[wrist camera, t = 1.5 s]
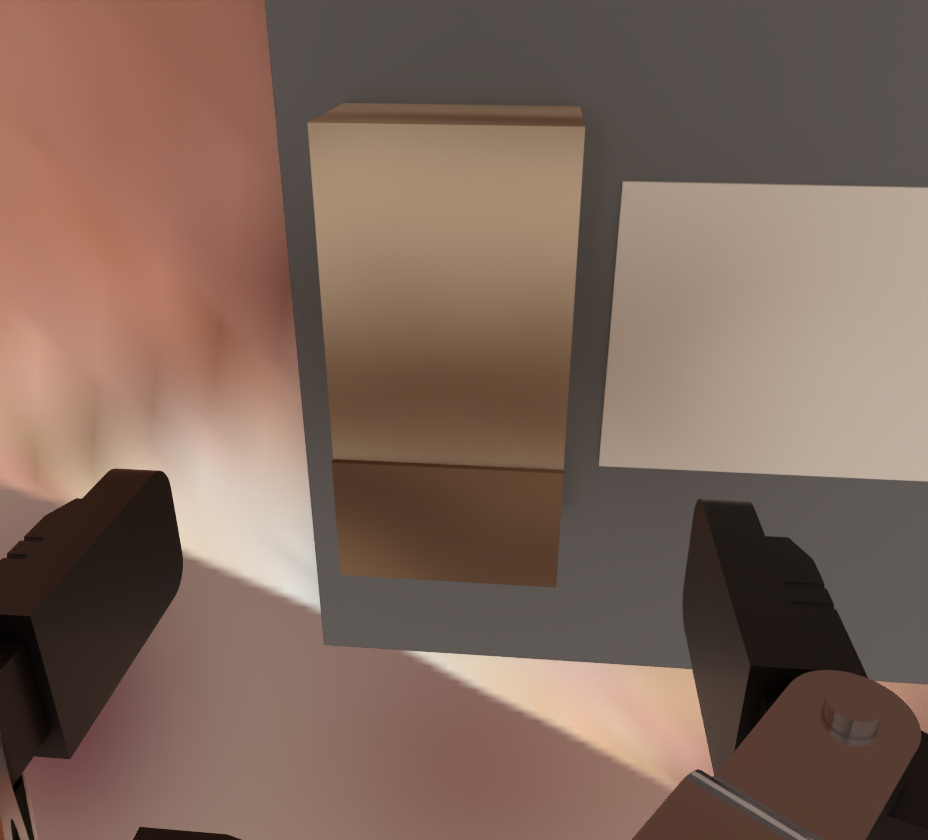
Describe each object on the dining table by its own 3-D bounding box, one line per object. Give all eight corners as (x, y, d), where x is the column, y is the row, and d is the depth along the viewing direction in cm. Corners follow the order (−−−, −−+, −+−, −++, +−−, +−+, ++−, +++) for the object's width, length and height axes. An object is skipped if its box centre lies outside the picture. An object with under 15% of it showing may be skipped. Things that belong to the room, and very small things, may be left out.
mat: (254, -178, 16) (246, -182, 16) (1383, -192, 15) (1408, -197, 14) (327, 635, 25) (323, 647, 25) (1033, 681, 24) (1042, 694, 23)
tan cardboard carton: (343, 102, 18) (305, 123, 15) (580, 106, 18) (585, 127, 15) (365, 502, 23) (340, 574, 20) (555, 512, 22) (556, 587, 19)
